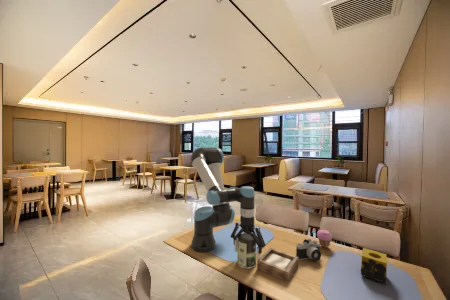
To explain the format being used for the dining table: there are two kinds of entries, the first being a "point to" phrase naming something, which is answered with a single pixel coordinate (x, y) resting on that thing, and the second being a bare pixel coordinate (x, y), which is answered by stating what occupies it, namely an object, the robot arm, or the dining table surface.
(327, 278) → the dining table surface
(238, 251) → the coffee can
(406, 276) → the dining table surface
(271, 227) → the dining table surface
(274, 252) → the wooden box
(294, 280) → the dining table surface
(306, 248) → the camera
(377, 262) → the tissue box
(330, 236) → the cupcake
